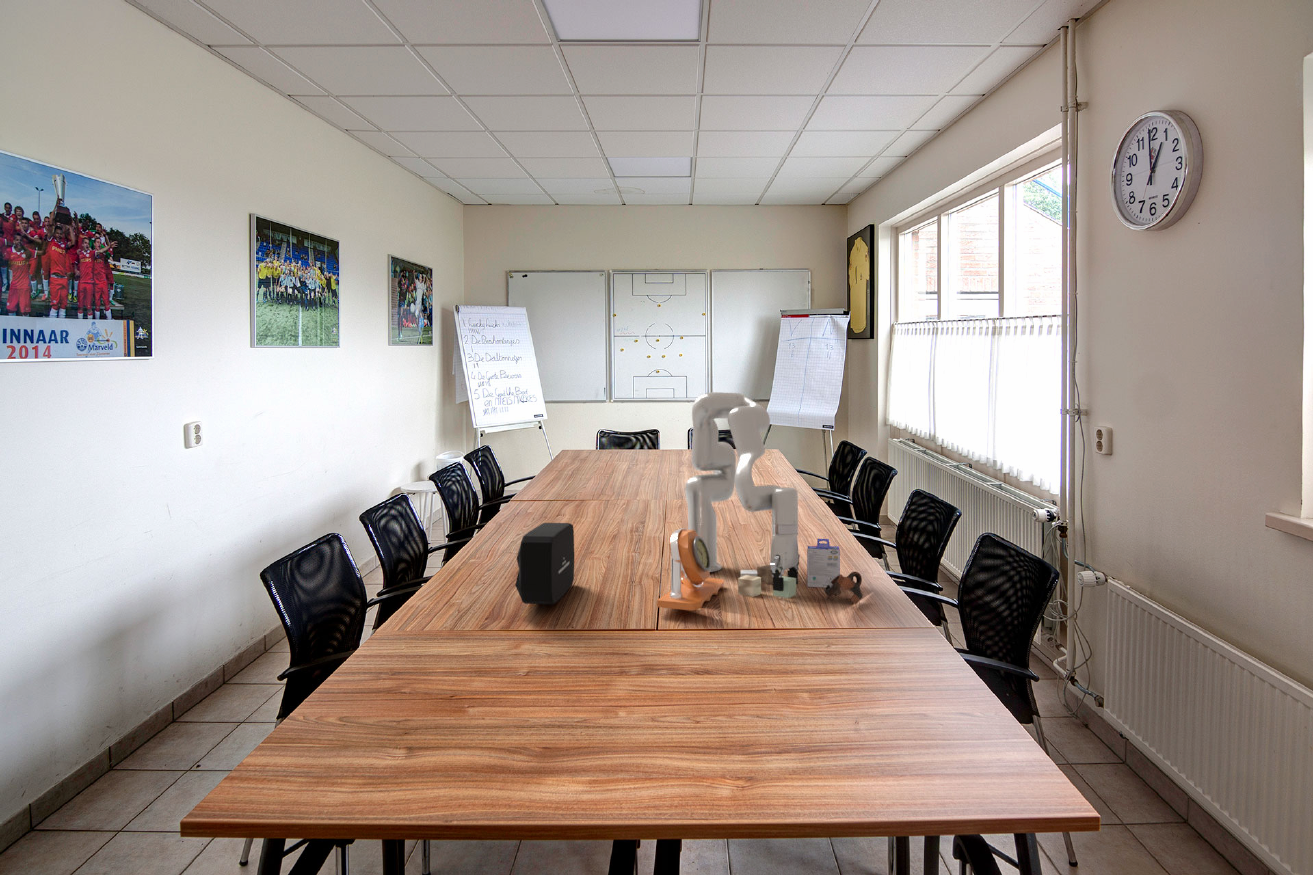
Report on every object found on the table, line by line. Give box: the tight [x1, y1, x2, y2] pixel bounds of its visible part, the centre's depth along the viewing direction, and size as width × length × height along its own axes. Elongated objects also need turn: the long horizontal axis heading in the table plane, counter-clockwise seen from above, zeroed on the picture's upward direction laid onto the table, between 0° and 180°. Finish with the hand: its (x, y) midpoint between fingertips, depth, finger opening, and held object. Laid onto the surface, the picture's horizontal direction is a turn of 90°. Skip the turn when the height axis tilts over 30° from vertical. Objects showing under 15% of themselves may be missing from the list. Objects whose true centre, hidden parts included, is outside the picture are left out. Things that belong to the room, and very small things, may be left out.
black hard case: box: [515, 522, 575, 605], centre depth 210 cm, size 30×12×20 cm, turn 174°
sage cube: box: [772, 575, 797, 599], centre depth 209 cm, size 5×5×5 cm
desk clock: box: [656, 527, 725, 611], centre depth 207 cm, size 12×30×20 cm, turn 159°
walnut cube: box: [756, 564, 780, 585], centre depth 224 cm, size 5×5×5 cm
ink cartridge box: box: [806, 538, 841, 588], centre depth 220 cm, size 10×6×14 cm, turn 79°
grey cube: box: [740, 569, 757, 577], centre depth 218 cm, size 5×5×5 cm
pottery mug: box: [823, 571, 864, 606], centre depth 203 cm, size 12×9×8 cm
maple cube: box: [737, 575, 762, 598], centre depth 210 cm, size 5×5×5 cm
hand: (785, 587), depth 209 cm, fingers open, 9 cm apart
